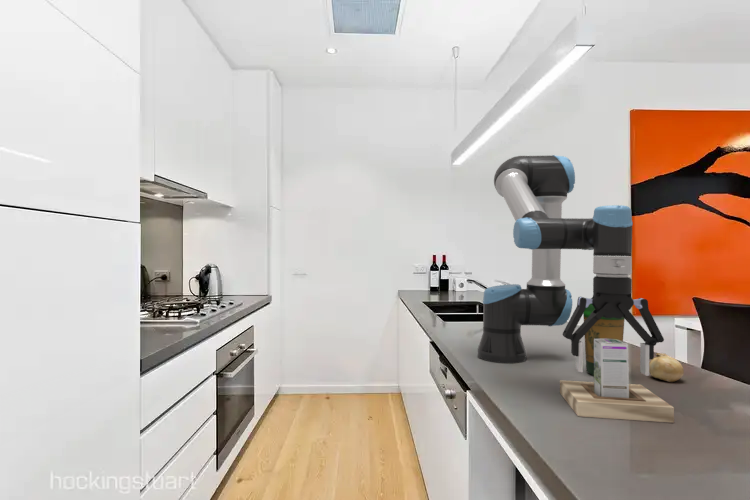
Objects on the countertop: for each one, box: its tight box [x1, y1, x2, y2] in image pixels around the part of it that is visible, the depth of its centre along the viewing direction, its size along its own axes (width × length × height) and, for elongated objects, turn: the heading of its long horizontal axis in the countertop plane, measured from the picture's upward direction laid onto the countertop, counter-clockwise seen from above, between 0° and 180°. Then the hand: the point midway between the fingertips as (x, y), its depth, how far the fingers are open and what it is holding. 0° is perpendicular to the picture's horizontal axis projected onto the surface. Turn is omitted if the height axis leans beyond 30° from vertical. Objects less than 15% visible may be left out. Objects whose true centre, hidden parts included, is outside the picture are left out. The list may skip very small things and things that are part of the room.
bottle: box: [582, 297, 626, 376], centre depth 126 cm, size 11×11×28 cm
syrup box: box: [593, 338, 630, 398], centre depth 99 cm, size 6×6×14 cm
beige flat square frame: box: [559, 379, 675, 424], centre depth 99 cm, size 16×18×3 cm
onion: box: [649, 352, 685, 383], centre depth 121 cm, size 8×8×7 cm
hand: (611, 372), depth 99 cm, fingers open, 13 cm apart
